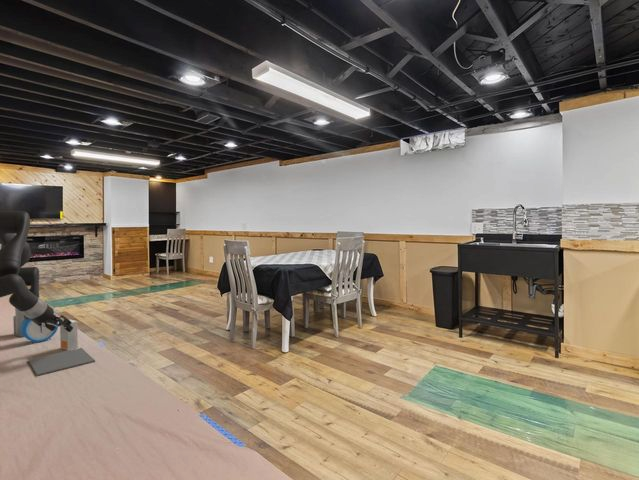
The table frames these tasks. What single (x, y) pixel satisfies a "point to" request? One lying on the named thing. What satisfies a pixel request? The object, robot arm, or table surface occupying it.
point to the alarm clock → (35, 331)
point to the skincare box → (69, 337)
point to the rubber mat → (60, 361)
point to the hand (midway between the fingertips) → (62, 329)
